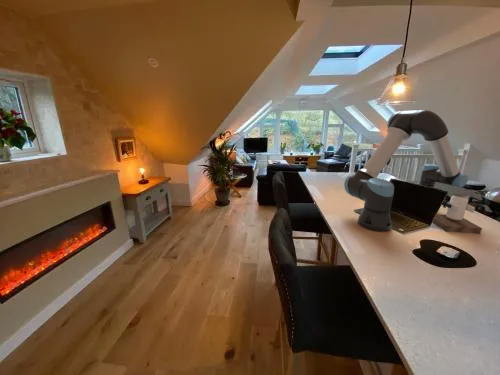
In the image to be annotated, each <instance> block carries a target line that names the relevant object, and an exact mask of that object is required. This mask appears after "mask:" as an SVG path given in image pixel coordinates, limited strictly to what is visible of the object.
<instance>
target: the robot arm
mask: <svg viewBox="0 0 500 375" xmlns="http://www.w3.org/2000/svg"><path fill="white" fill-rule="evenodd" d="M386 128H387V129H386V131H387V134H386V135H385V136H384V138H383V139H382V141H381V143H379V145H378V146H377V148H376V149H375V150H374V152H373V153H372V154H371V156H370V157H369V159H368V160H367V162H366V163H365V165H363V168H361V169H357V170H356V172H355V173H353V174H350V175H348V176H347V177H346V178H345V181H344V190H345V192H346V194H348V195H349V196H351V197H354V198H355V199H356V198H357V199H359V200H361V201H363V202H364V204H363V209H362V211H361V213H360V214H359V216H358V219H357V224H358V225H359V226H360V227H363V228H365V229H367V230H370V231H374V232H375V231H376V232H388V231H391V228H392V220H391V214H390V213H391V212H390V211H391V208H392V203H393V200H394V199H393V198H394V194H395V185H394V183H392V182H391V181H389V180H387V179H382V178H378V176H379V174H381V172H382V171H383V170H384V168H385V167H386V165H387V164H388V163H389V161H390V160H391V159H392V158H393V156H394V154H395V153H396V152H397V150H398V149H399V147H400V146H402V143H403V142H404V141H408V140H409V139H410V138H411V136H412V135H421V136H422V137H423V139H424V141H426V142H427V143H428V145H429V147H430V150H431V153H432V154H433V157H434V159H435V162H436V164H433V163H426V164H424V165H423V167H422V171H421V176H420V180H419V181H418V182H417V183H416V184H418V185H422V186H427V187H432V188H437V189H440V190H442V189H441V188H439V187H436V186H435V185H436V183H437V184H443V185H447V186H450V187H456V188H463V187H465V186H466V185H467V184H468V181H469V176H468V175H467V174H464V173H461V172H460V170H459V167H458V164H457V161H456V158H455V155H454V152H453V148H452V146H451V144H450V141H449V139H448V138H449V137H448V134H449V130H448V127H447V125H446V122H445V121H444V120H443V119H442V117H440V115H438V114H437V113H436V112H434V111H431V110H428V109H420V110H419V109H418V110H400V111H396V112H394V113H393V114H392V115H391V116H390V117H389V119H388V120H387V127H386ZM451 197H452V196H450V195H448V194H447V196H446V198H445V199H444V201H443V203H442V205H441V206H442V208H447V209H448V208H450V209H451V210H453V211H455V212H457V211H458V207H459V206H457V205H455V204H453V203H450V199H451ZM475 209H476V207H475V206H473V205H470V202H469V201H468V203H467V207H466V210H465V211H468V212H470V213H474V212H475Z"/></svg>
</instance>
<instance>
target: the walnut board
mask: <svg viewBox="0 0 500 375" xmlns="http://www.w3.org/2000/svg"><path fill="white" fill-rule="evenodd" d="M436 214H437V215H436V216H435V218H434V220H433V223H432V224H434V225H436V226H437V227H439V228H440V230H442V231H444V232H448V233H458V234H459V233H462V234H473V235H474V234H475V235H476V234H478V235H481V233H482V230H483V228H482V227H481V226H479V225H477V224H475V223H474V222H471V221H470V220H468V219H466V218H464V217H463V219H462V220H453V219H450V218H448V217H447V216H446V214H440V213H439V214H438V213H436Z"/></svg>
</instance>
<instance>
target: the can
mask: <svg viewBox="0 0 500 375" xmlns="http://www.w3.org/2000/svg"><path fill="white" fill-rule="evenodd" d="M450 197H451V199H450V203H453V204H455V205H457V206H459V207H458V211H457V212H455V211H453V210H451V209H450V208H448V207H447V209H446V210H447V211H446V214H445V215H446V216H447V217H448V218H450V219H453V220H462V219H463V218H464V216H465V213H466V211H467V210H466V207H467V203H468V202H469V196H468V195H465V194H462V193H453V194H452V195H451V196H450Z"/></svg>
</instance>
